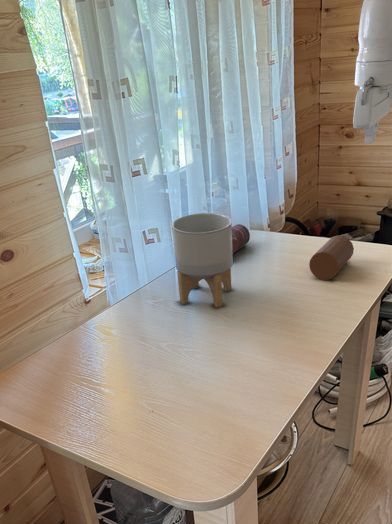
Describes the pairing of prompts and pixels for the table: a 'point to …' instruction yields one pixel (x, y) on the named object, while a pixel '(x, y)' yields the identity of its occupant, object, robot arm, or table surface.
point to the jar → (331, 257)
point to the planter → (203, 253)
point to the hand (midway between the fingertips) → (369, 142)
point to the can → (239, 237)
